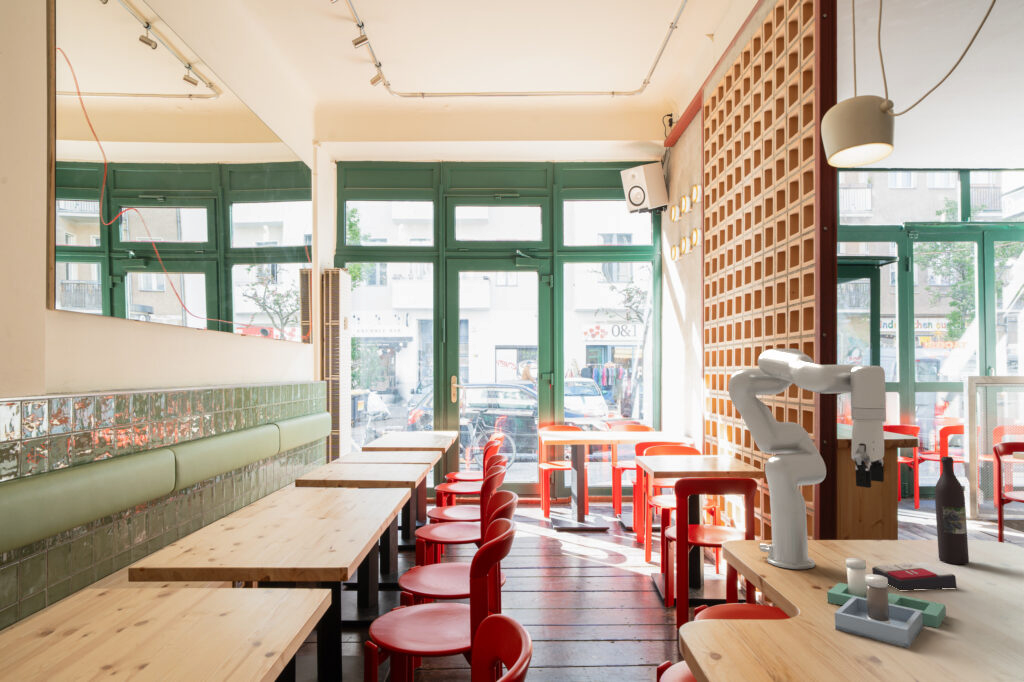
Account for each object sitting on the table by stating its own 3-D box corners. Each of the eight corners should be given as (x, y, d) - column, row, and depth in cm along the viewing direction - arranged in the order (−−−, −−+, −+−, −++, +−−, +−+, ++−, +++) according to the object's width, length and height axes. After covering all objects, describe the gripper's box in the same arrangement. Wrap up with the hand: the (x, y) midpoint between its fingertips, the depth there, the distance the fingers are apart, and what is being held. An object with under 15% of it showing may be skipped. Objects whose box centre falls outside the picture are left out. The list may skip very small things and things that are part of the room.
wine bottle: (942, 563, 172) (935, 458, 174) (936, 557, 179) (929, 455, 180) (972, 566, 169) (965, 459, 171) (964, 559, 176) (957, 455, 178)
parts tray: (835, 629, 130) (834, 612, 130) (854, 611, 139) (853, 596, 139) (908, 648, 120) (907, 630, 120) (923, 627, 130) (922, 610, 130)
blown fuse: (865, 625, 130) (862, 577, 130) (870, 619, 132) (868, 572, 133) (887, 630, 127) (884, 581, 127) (892, 624, 130) (889, 577, 130)
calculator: (871, 564, 162) (924, 559, 163) (872, 580, 162) (925, 575, 163) (899, 577, 152) (955, 572, 152) (900, 595, 151) (957, 589, 152)
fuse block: (827, 602, 145) (827, 591, 145) (839, 592, 151) (839, 582, 151) (937, 627, 129) (937, 616, 129) (946, 615, 136) (945, 604, 136)
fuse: (846, 603, 144) (842, 560, 145) (852, 598, 147) (849, 556, 148) (865, 607, 141) (862, 563, 142) (871, 602, 144) (868, 560, 145)
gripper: (863, 411, 159) (865, 476, 158) (839, 416, 147) (841, 486, 146) (895, 413, 153) (897, 481, 153) (874, 418, 141) (876, 491, 141)
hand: (870, 483), depth 150 cm, fingers open, 9 cm apart
